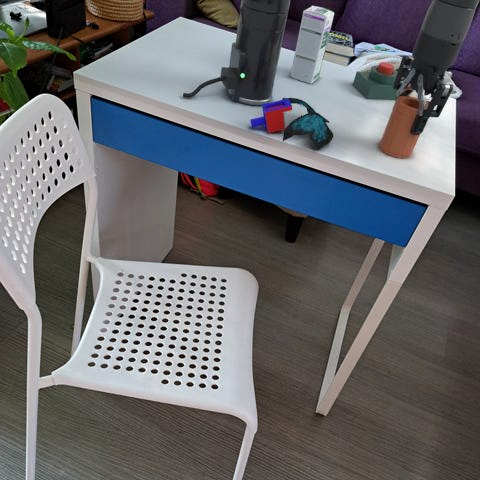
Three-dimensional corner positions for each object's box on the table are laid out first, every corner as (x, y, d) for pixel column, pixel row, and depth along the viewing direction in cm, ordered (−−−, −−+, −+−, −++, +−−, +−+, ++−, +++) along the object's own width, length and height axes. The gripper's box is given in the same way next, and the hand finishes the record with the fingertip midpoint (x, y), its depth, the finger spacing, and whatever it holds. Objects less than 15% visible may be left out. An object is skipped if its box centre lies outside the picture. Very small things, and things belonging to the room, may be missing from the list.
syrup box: (311, 84, 119) (328, 16, 108) (288, 77, 120) (303, 8, 109) (318, 77, 123) (336, 11, 112) (296, 70, 124) (311, 4, 113)
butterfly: (339, 145, 92) (295, 115, 88) (322, 166, 95) (279, 139, 92) (331, 107, 104) (293, 80, 100) (316, 127, 107) (278, 101, 104)
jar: (389, 158, 98) (408, 110, 91) (373, 141, 102) (390, 95, 95) (417, 158, 100) (437, 111, 93) (400, 142, 104) (419, 96, 97)
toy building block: (290, 119, 99) (251, 128, 99) (288, 98, 96) (247, 107, 96) (294, 127, 97) (254, 136, 97) (292, 105, 94) (250, 115, 94)
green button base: (367, 98, 118) (374, 77, 114) (352, 84, 123) (359, 63, 119) (402, 100, 121) (410, 78, 118) (387, 86, 126) (394, 65, 123)
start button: (381, 75, 117) (383, 67, 116) (374, 69, 119) (376, 61, 118) (394, 76, 118) (397, 68, 117) (387, 70, 120) (389, 62, 119)
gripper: (403, 16, 89) (371, 108, 101) (448, 46, 80) (407, 143, 92) (438, 19, 91) (403, 109, 103) (485, 48, 82) (440, 143, 94)
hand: (405, 125), depth 97 cm, fingers closed on jar, 6 cm apart
